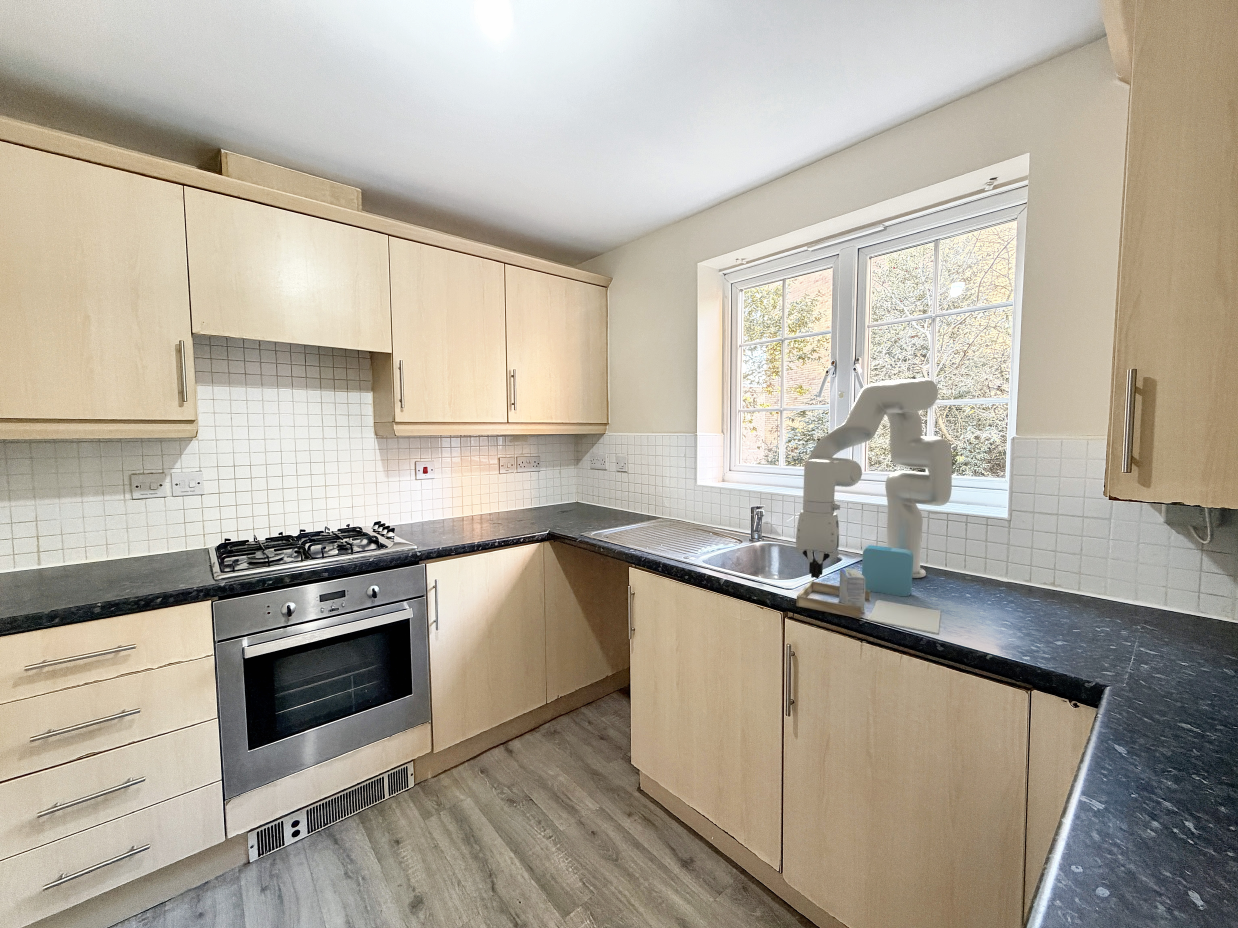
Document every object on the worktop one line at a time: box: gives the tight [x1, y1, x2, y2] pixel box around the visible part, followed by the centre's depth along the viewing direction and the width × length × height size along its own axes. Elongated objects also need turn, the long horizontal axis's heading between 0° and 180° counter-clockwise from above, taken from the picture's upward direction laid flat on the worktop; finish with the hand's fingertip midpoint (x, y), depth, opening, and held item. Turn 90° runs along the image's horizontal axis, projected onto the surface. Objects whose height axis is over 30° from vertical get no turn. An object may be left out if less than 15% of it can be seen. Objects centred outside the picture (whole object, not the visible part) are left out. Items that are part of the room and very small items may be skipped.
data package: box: [861, 544, 914, 597], centre depth 142 cm, size 12×4×12 cm, turn 57°
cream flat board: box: [867, 599, 941, 635], centre depth 124 cm, size 16×14×1 cm
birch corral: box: [795, 580, 871, 619], centre depth 133 cm, size 15×15×2 cm
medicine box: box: [838, 568, 866, 613], centre depth 130 cm, size 8×4×9 cm, turn 168°
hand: (815, 576), depth 135 cm, fingers closed
